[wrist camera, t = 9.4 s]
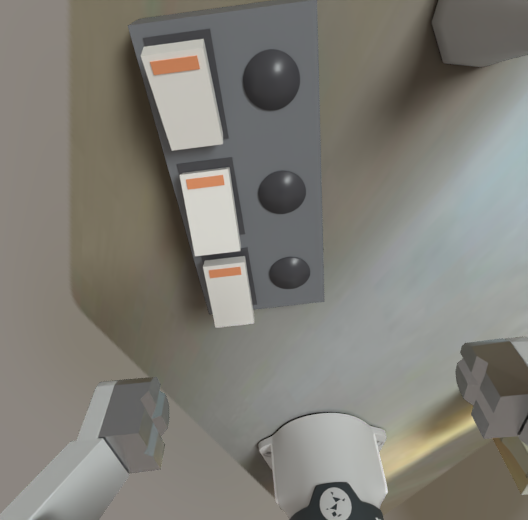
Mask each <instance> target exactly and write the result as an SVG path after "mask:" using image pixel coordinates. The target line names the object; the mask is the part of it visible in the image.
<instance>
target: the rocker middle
mask: <svg viewBox="0 0 528 520" xmlns="http://www.w3.org/2000/svg"><path fill="white" fill-rule="evenodd" d="M180 180H181V186H182V191H183V196H184V201H185V207H186V212H187V217H188V222H189V228H190V233H191V238H192V243H193V249H194V254H195V256H203V255H211V254H220V253H228V252H237V251H240V250H241V242H240V235H239V229H238V222H237V215H236V208H235V201H234V195H233V188H232V181H231V174H230V168H229V167H226V168H218V169H210V170H202V171H194V172H186V173H182V174H180Z"/></svg>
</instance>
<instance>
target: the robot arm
mask: <svg viewBox="0 0 528 520" xmlns="http://www.w3.org/2000/svg"><path fill="white" fill-rule="evenodd" d="M460 353H461V355H462V357H463V359H462V360H461V361H459V362H458V363H457V367H456V381H457V384H458V387H459V390H460V392H461V394H462V397H463V399H465V400H466V401H468V402H469V403H470V404H472V405H473V410H472V413H471V415H472V417H473V419H474V421H475V423H476V425H477V427H478V429H479V431H480V433H481V435H482V437H483V438H484V439H486V438H501V437H515V436H519V439H520V440H521V441H522V442H524V443H525V444H526V445H527V446H528V338H527V337H515V338H507V339H503V338H502V339H494V340H486V341H477V342H469V343H465V344H464V345H463V346H462V348H461V351H460ZM160 385H161V384H160V382H159V380H158V378H157V377H150V378H138V379H126V380H115V381H105V382H100V383H99V384H98V385H97V387H96V388H95V391H94V394H93V396H92V399H91V402H90V404H89V407H88V410H87V413H86V416H85V418H84V421H83V424H82V427H81V429H80V432H79V435H78V438H77V440H76V441H71V442H70V443H69V444H68V445H67V446H66V447H65V448H64V449H63V450H62V451H61V452H60V453H59V454H58V455H57V456H56V457H55V458H54V459H53V460H52V461H51V462H50V463H49V464H48V466H46V467H45V468H44V470H42V471H41V473H40V474H39V475H38V476H37V477H36V478H35V479H34V480H33V481H32V482H31V483H30V484H29V485H28V486H27V487H26V488H25V489H24V490H23V491H22V492H21V493H20V494H19V495H18V496H17V497H16V498H15V499H14V500H13V501H12V503H10V504H9V505H8V506H7V507H6V508H5V510H3V512H2V513H1V514H0V520H99V519H100V517H101V516H102V515H103V513H104V512H105V510H106V509H107V507H108V506H109V504H110V503H111V502H112V500H113V499H114V497H115V496H116V494H117V493H118V491H119V490H120V488H121V487H122V486H123V484H124V483H125V481H126V479H127V478H128V477H129V473H137V472H144V471H152V470H160V469H161V464H162V458H163V453H164V447H165V444H164V442H163V440H162V438H161V436H162V435H163V434H164V432H165V431H166V430H167V429H168V424H169V403H168V399H167V397H166V395H165V394H164V393H163V392H161V391H159V390H160ZM386 439H387V437H386V432H385V430H383V429H381V428H377V427H373V426H370V425H368V424H367V423H365V422H364V421H362V420H361V419H359V418H357V417H354V416H351V415H347V414H340V413H320V414H313V415H308V416H305V417H301V418H298V419H296V420H293V421H291V422H289V423H287V424H286V425H284V426H283V427H281V428H280V429H279V430H278V431H277V432H276V433H275V434H274V435H273V436H271V437H269V438H267V439H264V440H263V441H261V442H259V444H258V447H259V452H260V453H261V455H262V456H263V458H264V459H265V461H266V462H267V464H268V465H269V467H270V468H271V469H272V471H273V481H274V492H275V501H276V504H278V505H279V507H280V508H281V509H282V510H283V511H284V512H285V513H286V514H287V516H288V518H289V520H384V519H383V515H382V512H381V510H380V505H381V503H382V501H383V500H384V498H385V495H386V494H387V493H388V489H387V484H386V479H385V475H384V471H383V466H382V462H381V458H380V454H379V452H380V450H381V448H382V446H383V445H384V443H385V441H386Z"/></svg>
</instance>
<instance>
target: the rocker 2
mask: <svg viewBox="0 0 528 520" xmlns="http://www.w3.org/2000/svg"><path fill="white" fill-rule="evenodd" d="M203 270H204V275H205V279H206V284H207V289H208V294H209V298H210V303H211V308H212V313H213V317H214V322H215V327H216V328H218V327H227V326H236V325H245V324H254V311H253V305H252V298H251V292H250V285H249V279H248V272H247V266H246V260H245V256H240V257H231V258H223V259H214V260H205V261H204V265H203Z"/></svg>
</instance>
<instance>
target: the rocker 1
mask: <svg viewBox="0 0 528 520" xmlns="http://www.w3.org/2000/svg"><path fill="white" fill-rule="evenodd" d="M141 58H142V61H143V64H144V68H145V71H146V74H147V77H148V80H149V83H150V86H151V89H152V92H153V95H154V98H155V101H156V104H157V107H158V110H159V113H160V116H161V119H162V122H163V125H164V129H165V132H166V135H167V138H168V141H169V144H170V147H171V150H172V151H173V150H181V149H189V148H197V147H205V146H213V145H221V144H223V131H222V126H221V121H220V116H219V111H218V107H217V102H216V97H215V92H214V87H213V82H212V77H211V72H210V67H209V62H208V57H207V52H206V47H205V43H204V39H198V40H190V41H183V42H176V43H168V44H161V45H154V46H146V47H143V50H142V54H141Z"/></svg>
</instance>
